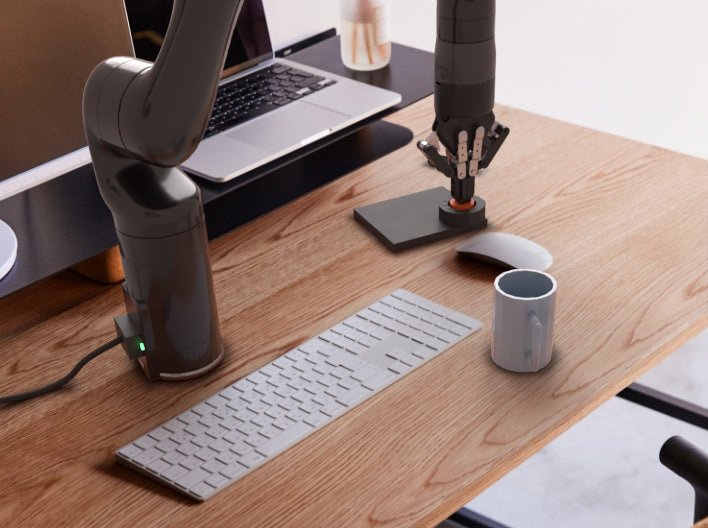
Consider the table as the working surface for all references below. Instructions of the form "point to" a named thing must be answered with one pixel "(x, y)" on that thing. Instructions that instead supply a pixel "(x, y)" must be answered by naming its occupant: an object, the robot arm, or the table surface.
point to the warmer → (420, 218)
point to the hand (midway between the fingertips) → (462, 201)
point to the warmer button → (461, 205)
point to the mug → (523, 319)
